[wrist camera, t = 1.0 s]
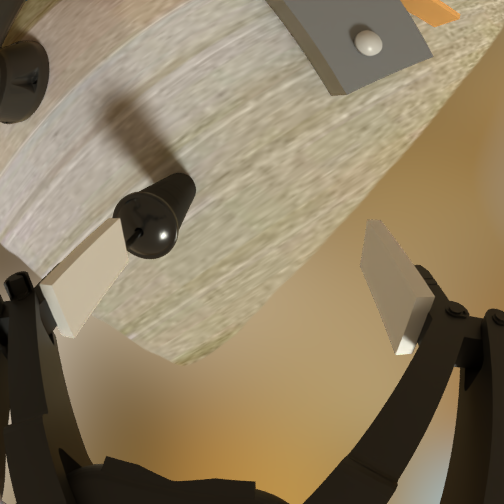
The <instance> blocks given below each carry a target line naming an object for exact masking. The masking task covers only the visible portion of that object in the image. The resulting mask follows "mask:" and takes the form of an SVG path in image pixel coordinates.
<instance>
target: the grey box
mask: <svg viewBox="0 0 504 504" xmlns="http://www.w3.org/2000/svg"><path fill="white" fill-rule="evenodd" d="M266 2H267V3H268V4H269V5H270V7H271V8H272V9H273V10H274V12H275V13H276V14H277V16H278V17H279V18H280V20H281V21H282V22H283V24H284V25H285V26H286V28H287V29H288V30H289V32H290V33H291V35H292V36H293V37H294V39H295V40H296V42H297V43H298V45H299V46H300V47H301V49H302V50H303V52H304V53H305V55H306V56H307V58H308V59H309V61H310V62H311V64H312V65H313V67H314V68H315V70H316V72H317V73H318V75H319V76H320V78H321V80H322V81H323V83H324V84H325V86H326V88H327V89H328V91H329V93H330V94H331V96H337V95H347V94H349V93H352V92H354V91H356V90H358V89H360V88H362V87H364V86H366V85H368V84H371V83H373V82H375V81H377V80H379V79H381V78H384V77H386V76H388V75H390V74H393V73H395V72H397V71H400V70H402V69H404V68H407V67H409V66H412V65H414V64H416V63H419V62H421V61H424V60H426V59H429V58H431V57H433V55H432V53H431V51H430V49H429V47H428V45H427V44H426V42H425V40H424V38H423V36H422V35H421V33H420V31H419V29H418V28H417V26H416V24H415V23H414V21H413V19H412V18H411V16H410V15H409V13H408V11H407V10H406V8H405V7H404V5H403V4H402V2H401V1H400V0H266Z"/></svg>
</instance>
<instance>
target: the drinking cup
mask: <svg viewBox="0 0 504 504" xmlns="http://www.w3.org/2000/svg"><path fill="white" fill-rule="evenodd" d="M195 193H196V187H195V184H194V182H193V180H192V179H191V178H190V177H189V176H187V175H185V174H182V173H176V174H173V175H171V176H169V177H167V178H165V179H163V180H161V181H159V182H157V183H155V184H153V185H151V186H149V187H147V188H145V189H143V190H141V191H139V192H134V193H131V194H129V195H127V196H125V197H124V198H123V199H121V200H120V201H119V203H118V204H117V206H116V207H115V210H114V213H113V218H120V221H121V226H122V231H123V236H124V240H125V245H126V250H127V251H128V252H130V253H131V254H133V255H135V256H137V257H140V258H144V259H156V258H160V257H162V256H164V255H166V254H167V253H169V252H170V251H171V249H172V248H173V247H174V245H175V243H176V241H177V238H178V232H179V229H180V227H181V224H182V222H183V220H184V218H185V216H186V213H187V211H188V209H189V207H190V205H191V203H192V201H193V199H194V196H195Z"/></svg>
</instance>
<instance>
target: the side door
mask: <svg viewBox="0 0 504 504" xmlns="http://www.w3.org/2000/svg"><path fill="white" fill-rule="evenodd" d="M400 1H401V2H402V4H403V5H404V7H405V8H406V10H407V11H408V12H410V13H412V14H413V15H415V16H417V17H419V18H420V19H422V20H424V21H425V22H427V23H428V24H430V25H432V26H433V27H436V26H439V25H442V24H445V23H448V22H452V21H455V20H458V19H459V18H460V14H459V13H457V12H456V11H455V10H453V9H452V8H450V7H449V6H447V5H446V4H444V3H443V2H441V1H440V0H400Z"/></svg>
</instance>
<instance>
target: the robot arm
mask: <svg viewBox="0 0 504 504" xmlns="http://www.w3.org/2000/svg"><path fill="white" fill-rule="evenodd" d="M25 1H27V0H0V48H1V46H2V44H3V42H4V40H5V38H6V36H7V34H8V32H9V30H10V28H11V26H12V24H13V22H14V20H15V18H16V16H17V15H18V13H19V11H20V9H21V8H22V6H23V4H24V3H25ZM48 78H49V62H48V57H47V54H46V52H45V50H44V48H43V47H42V46H41V45H40V44H39V43H37V42H34V41H19V42H16V43H13V44H11V45H10V46H6V47H3V48H1V49H0V122H2V123H5V124H14V123H18V122H21V121H24V120H26V119H28V118H29V117H30V116H31V115H32V114H33V113H34V112H35V111H36V110H37V108H38V107H39V105H40V103H41V101H42V99H43V97H44V94H45V92H46V88H47V84H48ZM128 263H129V259H128V254H127V250H126V245H125V240H124V236H123V231H122V226H121V221H120V218H109V219H107V220H106V221H105V222H104V223H103V224H102V225H101V226H99V227H98V228H97V229H96V230H95V231H94V232H93V233H92V234H90V235H89V236H88V237H87V238H86V239H85V240H84V241H83V242H82V243H81V244H79V245H78V246H77V247H76V248H75V249H74V250H73V251H72V252H71V253H70V254H69V255H68V256H67V257H66V258H65V259H64V260H63V261H62V262H60V263H59V264H57V265H56V266H55V267H54V268H53V269H52V271H50V272H49V273H48V274H47V276H45V277H44V278H43V279H42V280H41V281H40V282H39V283H38V284H37V286H36V287H35V288H33V285H32V283H31V280H30V278H29V275H28V273H27V272H24V271H23V272H17V273H15V274H13V275H11V276H10V277H9V278H7V280H6V281H5V282H4V286H5V289H6V291H7V293H8V295H9V297H10V300H11V301H5V302H3V299H2V297H1V295H0V504H6V503H5V502H3V501H2V495H3V490H4V482H5V462H6V461H5V460H6V456H7V462H8V468H9V473H10V477H11V481H12V486H13V491H14V494H15V498H16V502H17V503H16V504H289V503H287V502H286V501H284V500H283V499H281V498H279V497H277V496H275V495H273V494H270V493H267V492H265V491H261V490H258V489H256V487H255V482H252V481H237V480H225V479H216V478H215V479H205V480H193V481H171V480H169V479H166V478H164V477H162V476H160V475H158V474H156V473H153V472H152V471H150V470H147V469H145V468H144V467H142V466H140V465H137V464H133V463H129V462H125V461H122V460H118V459H115V458H111V457H108V456H106V458H105V461H104V464H94V465H93V463H92V462H91V460H90V458H89V456H88V454H87V452H86V449H85V446H84V443H83V441H82V438H81V435H80V432H79V429H78V426H77V423H76V419H75V416H74V413H73V409H72V406H71V402H70V399H69V395H68V391H67V387H66V383H65V379H64V375H63V371H62V366H61V361H60V356H59V352H58V346H57V340H56V336H55V334H54V332H53V330H54V329H55V327H56V326H57V327H58V329H59V331H60V333H61V335H62V336H65V337H70V338H75V337H76V335H77V334H78V332H79V331H80V329H81V328H82V326H83V325H84V323H85V322H86V320H87V319H88V318H89V316H90V315H91V313H92V312H93V310H94V309H95V307H96V306H97V305H98V303H99V302H100V300H101V299H102V298H103V296H104V295H105V293H106V292H107V291H108V289H109V288H110V287H111V285H112V284H113V283H114V281H115V280H116V278H117V277H118V276H119V274H120V273H121V272H122V271H123V269H124V268H125V267H126V265H127V264H128ZM360 267H361V269H362V272H363V274H364V276H365V279H366V281H367V284H368V286H369V288H370V291H371V293H372V296H373V298H374V300H375V303H376V305H377V308H378V310H379V313H380V315H381V318H382V321H383V323H384V325H385V328H386V331H387V334H388V336H389V339H390V342H391V344H392V347H393V350H394V353H395V355H401V354H411V353H413V351H414V348H415V346H416V344H417V343H418V345H419V348H418V350H417V352H416V353H415V355H414V357H413V359H412V361H411V362H410V364H409V366H408V368H407V369H406V371H405V373H404V375H403V376H402V378H401V380H400V381H399V383H398V385H397V386H396V388H395V390H394V391H393V393H392V394H391V396H390V397H389V399H388V401H387V402H386V403H385V405H384V407H383V408H382V410H381V411H380V413H379V414H378V416H377V417H376V418H375V420H374V421H373V423H372V424H371V426H370V427H369V428H368V430H367V431H366V432H365V434H364V435H363V436H362V438H361V439H360V441H359V442H358V443H357V444H356V446H355V447H354V448H353V450H352V451H351V452H350V453H349V454H348V455H347V456H346V457H345V458H344V459H343V460H342V461H341V462H340V463H339V465H338V466H337V467H336V468H335V469H334V470H333V472H332V473H331V474H330V475H329V476H328V477H327V478H326V480H325V481H324V482H323V483H322V484H321V485H320V486H319V488H317V489H316V491H315V492H314V493H313V494H312V495H311V496H310V497H309V498H308V499H307V500H306V501H305V502H304V503H303V504H387V503H388V501H389V500H390V498H391V496H392V495H393V493H394V492H395V490H396V488H397V486H398V484H397V482H398V479H399V478H400V476H401V474H402V473H403V471H404V469H405V468H406V466H407V464H408V463H409V461H410V459H411V458H412V456H413V454H414V452H415V450H416V449H417V447H418V445H419V443H420V441H421V439H422V437H423V436H424V434H425V432H426V430H427V428H428V426H429V424H430V422H431V420H432V417H433V415H434V413H435V411H436V409H437V407H438V404H439V402H440V400H441V398H442V395H443V393H444V390H445V388H446V386H447V383H448V381H449V378H450V375H451V373H452V370H453V367H460V383H459V398H458V410H457V419H456V426H455V434H454V440H453V447H452V452H451V458H450V463H449V468H448V473H447V477H446V481H445V486H444V490H443V494H442V498H441V501H440V504H504V312H503V311H501V310H498V309H489V310H488V311H487V312H486V314H485V316H484V318H477V317H471V316H469V313H468V311H467V309H466V308H465V307H464V306H462V305H461V304H459V303H457V302H453V301H449V300H448V298H447V297H446V295H445V294H444V292H443V291H442V290H441V288H440V287H439V285H437V282H436V281H435V279H433V277H432V275H431V274H430V272H429V271H428V270H426V269H425V268H424V267H422V266H421V265H414V264H413V263H412V262H411V260H410V259H409V257H408V256H407V255H406V253H405V252H404V250H403V249H402V248H401V246H400V245H399V243H398V242H397V241H396V239H395V238H394V237H393V235H392V234H391V233H390V231H389V230H388V229H387V228H386V226H385V225H384V223H383V222H382V221H381V220H367V225H366V232H365V239H364V245H363V251H362V257H361V263H360ZM9 411H11V420H12V424H11V425H8V420H9Z"/></svg>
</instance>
